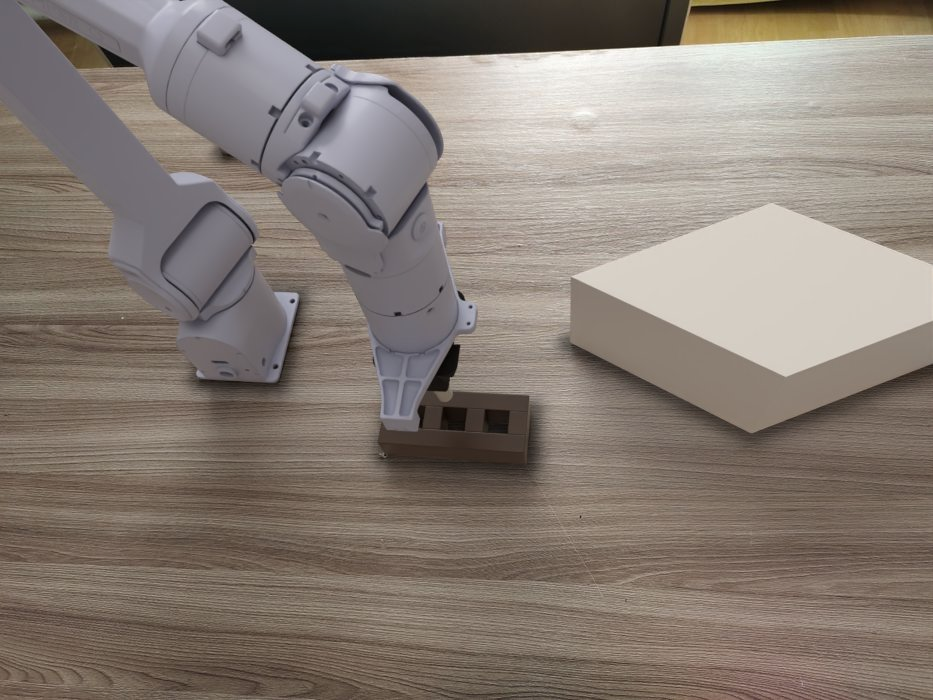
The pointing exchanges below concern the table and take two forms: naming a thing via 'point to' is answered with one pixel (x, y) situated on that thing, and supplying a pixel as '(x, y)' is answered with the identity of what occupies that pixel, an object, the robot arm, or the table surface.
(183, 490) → the table surface
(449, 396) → the beige thin cylinder
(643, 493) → the table surface
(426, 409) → the pen stand
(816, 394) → the block
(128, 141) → the robot arm
